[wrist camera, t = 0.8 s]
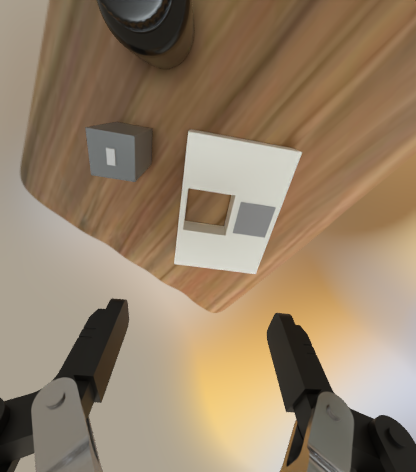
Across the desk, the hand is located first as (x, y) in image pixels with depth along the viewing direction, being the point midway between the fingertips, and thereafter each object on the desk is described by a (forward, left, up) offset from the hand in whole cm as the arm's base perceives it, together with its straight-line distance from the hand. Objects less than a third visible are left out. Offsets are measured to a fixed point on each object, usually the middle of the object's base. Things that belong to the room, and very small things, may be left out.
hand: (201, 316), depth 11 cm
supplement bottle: (-16, -7, -23) cm, 29 cm away
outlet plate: (+3, +4, -23) cm, 23 cm away
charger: (-4, -10, -23) cm, 25 cm away
